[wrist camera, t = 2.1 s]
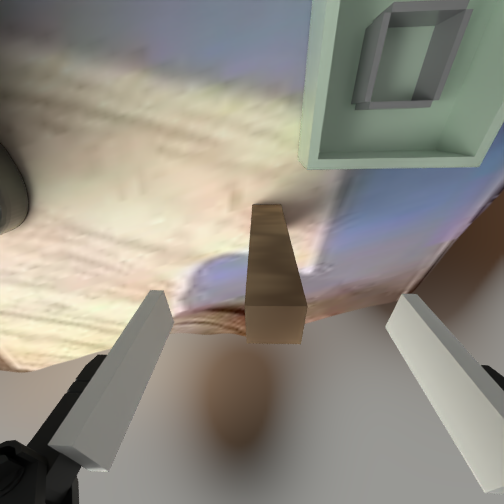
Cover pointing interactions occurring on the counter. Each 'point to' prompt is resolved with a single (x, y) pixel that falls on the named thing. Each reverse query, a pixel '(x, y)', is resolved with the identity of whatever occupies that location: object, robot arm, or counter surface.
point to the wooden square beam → (273, 281)
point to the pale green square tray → (402, 83)
